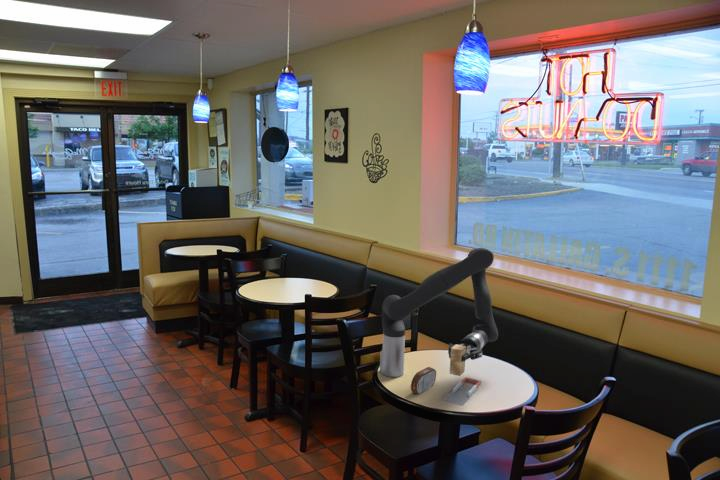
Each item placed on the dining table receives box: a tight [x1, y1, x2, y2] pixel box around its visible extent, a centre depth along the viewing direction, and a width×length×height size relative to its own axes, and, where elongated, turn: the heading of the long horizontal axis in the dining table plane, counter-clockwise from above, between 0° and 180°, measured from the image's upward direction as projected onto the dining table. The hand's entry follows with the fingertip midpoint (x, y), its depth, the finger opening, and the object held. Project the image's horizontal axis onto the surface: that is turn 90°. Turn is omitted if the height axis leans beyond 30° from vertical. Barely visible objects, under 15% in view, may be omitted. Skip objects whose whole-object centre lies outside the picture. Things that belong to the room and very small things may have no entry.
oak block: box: [449, 344, 466, 377], centre depth 204 cm, size 4×5×10 cm
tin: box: [410, 366, 437, 395], centre depth 214 cm, size 15×3×8 cm, turn 141°
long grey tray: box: [442, 376, 482, 407], centre depth 213 cm, size 8×23×2 cm, turn 149°
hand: (456, 357), depth 202 cm, fingers closed on oak block, 4 cm apart
